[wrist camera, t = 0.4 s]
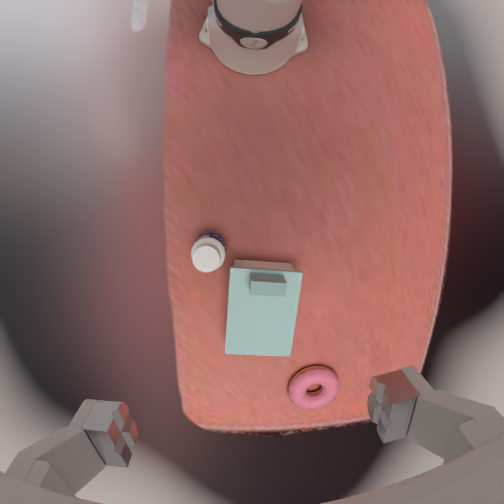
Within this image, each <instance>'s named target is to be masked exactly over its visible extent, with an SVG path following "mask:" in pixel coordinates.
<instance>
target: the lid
mask: <svg viewBox="0 0 504 504" xmlns="http://www.w3.org/2000/svg"><path fill="white" fill-rule="evenodd" d="M302 275H303V272H302V271H297V270H281V269H266V268H252V267H238V266H230V280H229V295H228V311H227V327H226V344H225V353H226V354H242V355H263V356H290V353H291V348H292V341H293V335H294V329H295V323H296V316H297V310H298V303H299V296H300V289H301V282H302Z"/></svg>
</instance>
